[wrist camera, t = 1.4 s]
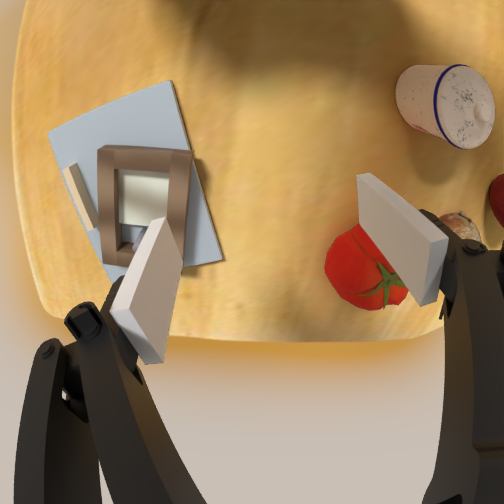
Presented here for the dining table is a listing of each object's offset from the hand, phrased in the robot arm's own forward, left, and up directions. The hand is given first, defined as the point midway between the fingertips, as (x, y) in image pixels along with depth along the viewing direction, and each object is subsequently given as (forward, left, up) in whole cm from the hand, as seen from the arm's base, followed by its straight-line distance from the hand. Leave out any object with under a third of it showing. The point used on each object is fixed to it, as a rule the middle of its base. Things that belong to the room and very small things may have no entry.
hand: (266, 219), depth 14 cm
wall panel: (+2, -14, -20) cm, 24 cm away
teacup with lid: (-3, +24, -20) cm, 31 cm away
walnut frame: (+4, -13, -18) cm, 22 cm away
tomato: (+17, +13, -20) cm, 29 cm away
